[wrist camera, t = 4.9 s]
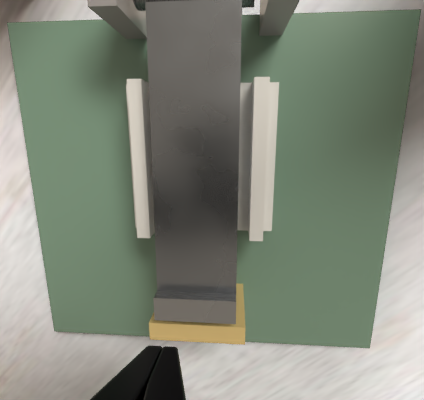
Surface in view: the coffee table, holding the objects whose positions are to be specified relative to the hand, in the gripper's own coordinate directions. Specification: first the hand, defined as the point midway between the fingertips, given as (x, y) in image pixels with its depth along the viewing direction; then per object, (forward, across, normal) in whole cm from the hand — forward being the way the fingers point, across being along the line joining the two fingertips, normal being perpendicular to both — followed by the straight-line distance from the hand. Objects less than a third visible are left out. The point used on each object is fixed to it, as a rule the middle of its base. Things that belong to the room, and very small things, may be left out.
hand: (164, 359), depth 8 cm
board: (+12, 0, -2) cm, 12 cm away
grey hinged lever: (+8, 0, -5) cm, 9 cm away
